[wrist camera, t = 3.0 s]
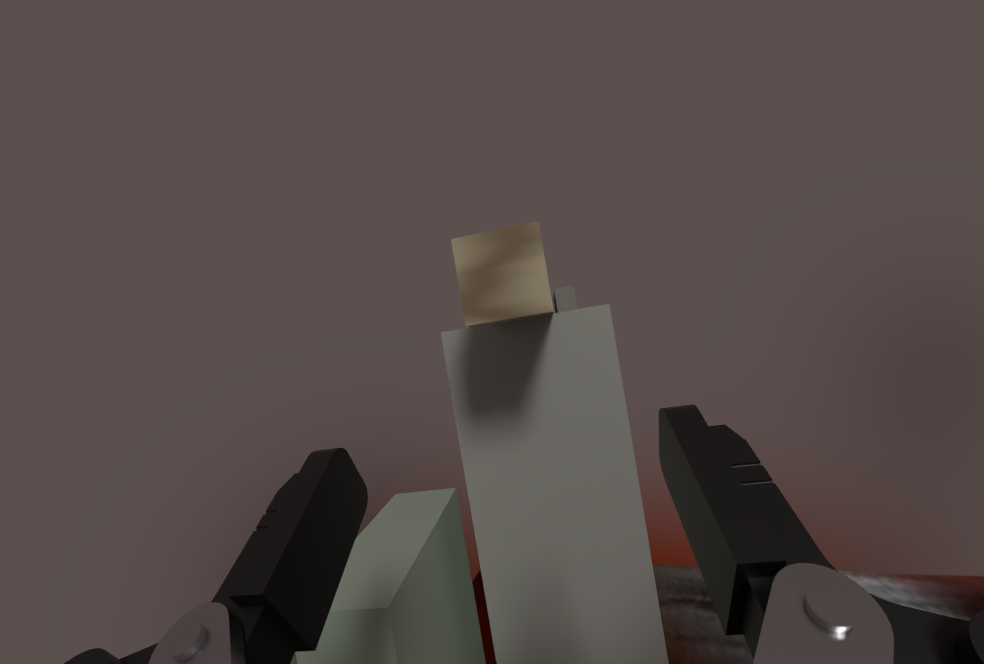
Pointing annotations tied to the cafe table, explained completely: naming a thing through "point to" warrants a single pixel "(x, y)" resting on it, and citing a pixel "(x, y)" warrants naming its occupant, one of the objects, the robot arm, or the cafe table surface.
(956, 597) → the cafe table surface
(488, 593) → the grey stand
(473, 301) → the birch bar
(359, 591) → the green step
